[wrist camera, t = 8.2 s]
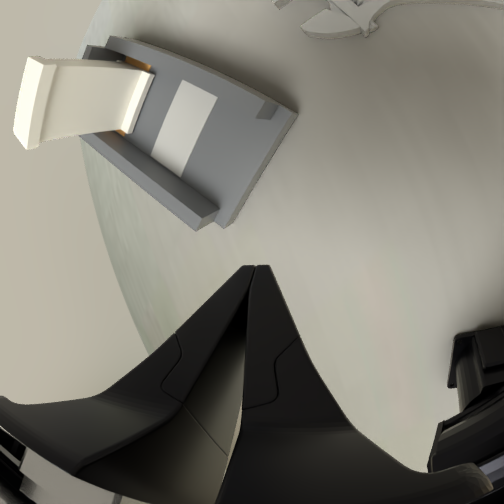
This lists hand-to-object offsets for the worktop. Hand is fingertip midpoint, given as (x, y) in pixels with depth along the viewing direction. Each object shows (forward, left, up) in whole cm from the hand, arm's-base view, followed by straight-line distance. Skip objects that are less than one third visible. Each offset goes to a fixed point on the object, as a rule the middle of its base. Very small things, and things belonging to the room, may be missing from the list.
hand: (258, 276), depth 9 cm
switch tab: (+14, +13, -11) cm, 22 cm away
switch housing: (+10, +10, -12) cm, 18 cm away
